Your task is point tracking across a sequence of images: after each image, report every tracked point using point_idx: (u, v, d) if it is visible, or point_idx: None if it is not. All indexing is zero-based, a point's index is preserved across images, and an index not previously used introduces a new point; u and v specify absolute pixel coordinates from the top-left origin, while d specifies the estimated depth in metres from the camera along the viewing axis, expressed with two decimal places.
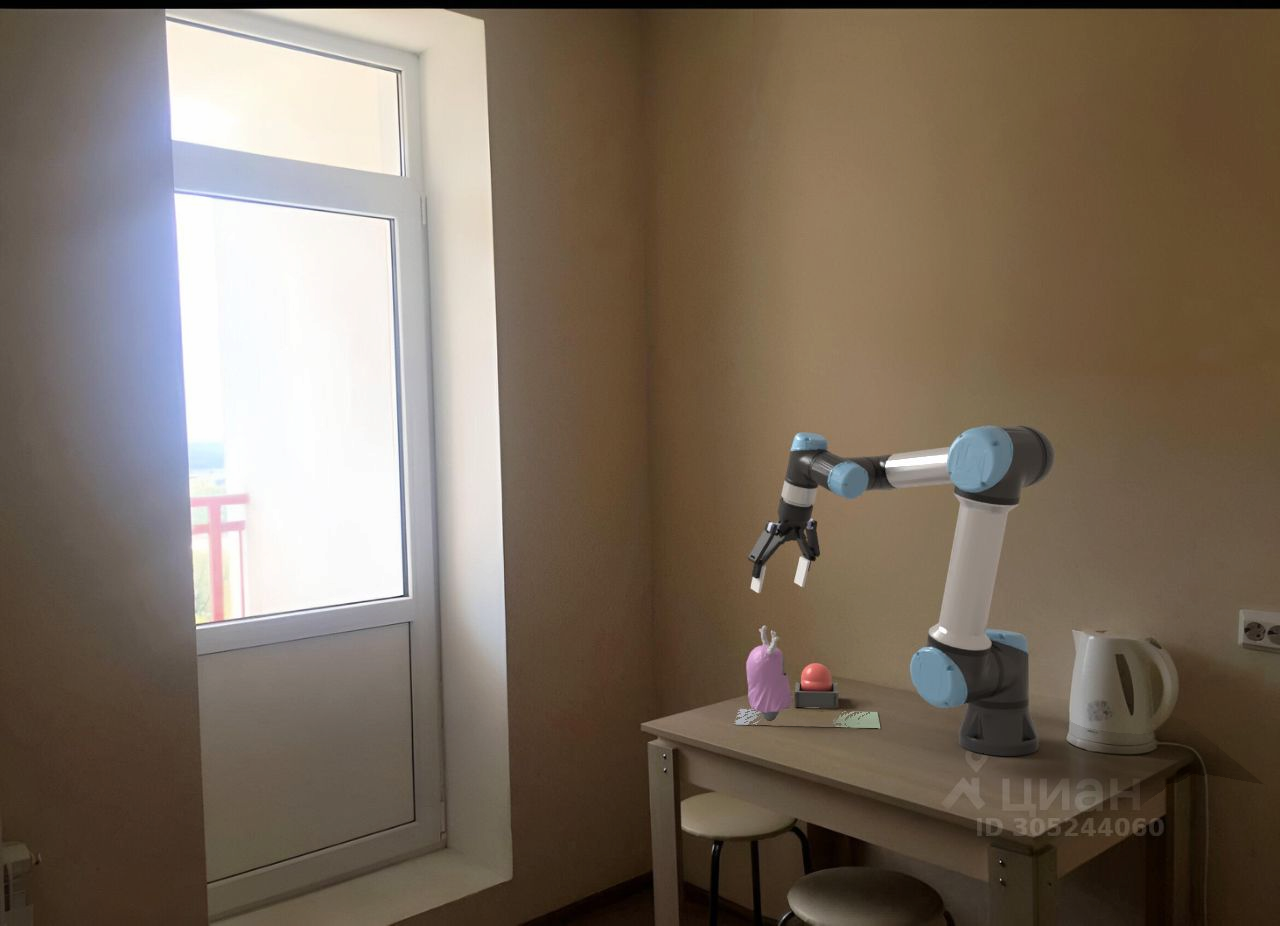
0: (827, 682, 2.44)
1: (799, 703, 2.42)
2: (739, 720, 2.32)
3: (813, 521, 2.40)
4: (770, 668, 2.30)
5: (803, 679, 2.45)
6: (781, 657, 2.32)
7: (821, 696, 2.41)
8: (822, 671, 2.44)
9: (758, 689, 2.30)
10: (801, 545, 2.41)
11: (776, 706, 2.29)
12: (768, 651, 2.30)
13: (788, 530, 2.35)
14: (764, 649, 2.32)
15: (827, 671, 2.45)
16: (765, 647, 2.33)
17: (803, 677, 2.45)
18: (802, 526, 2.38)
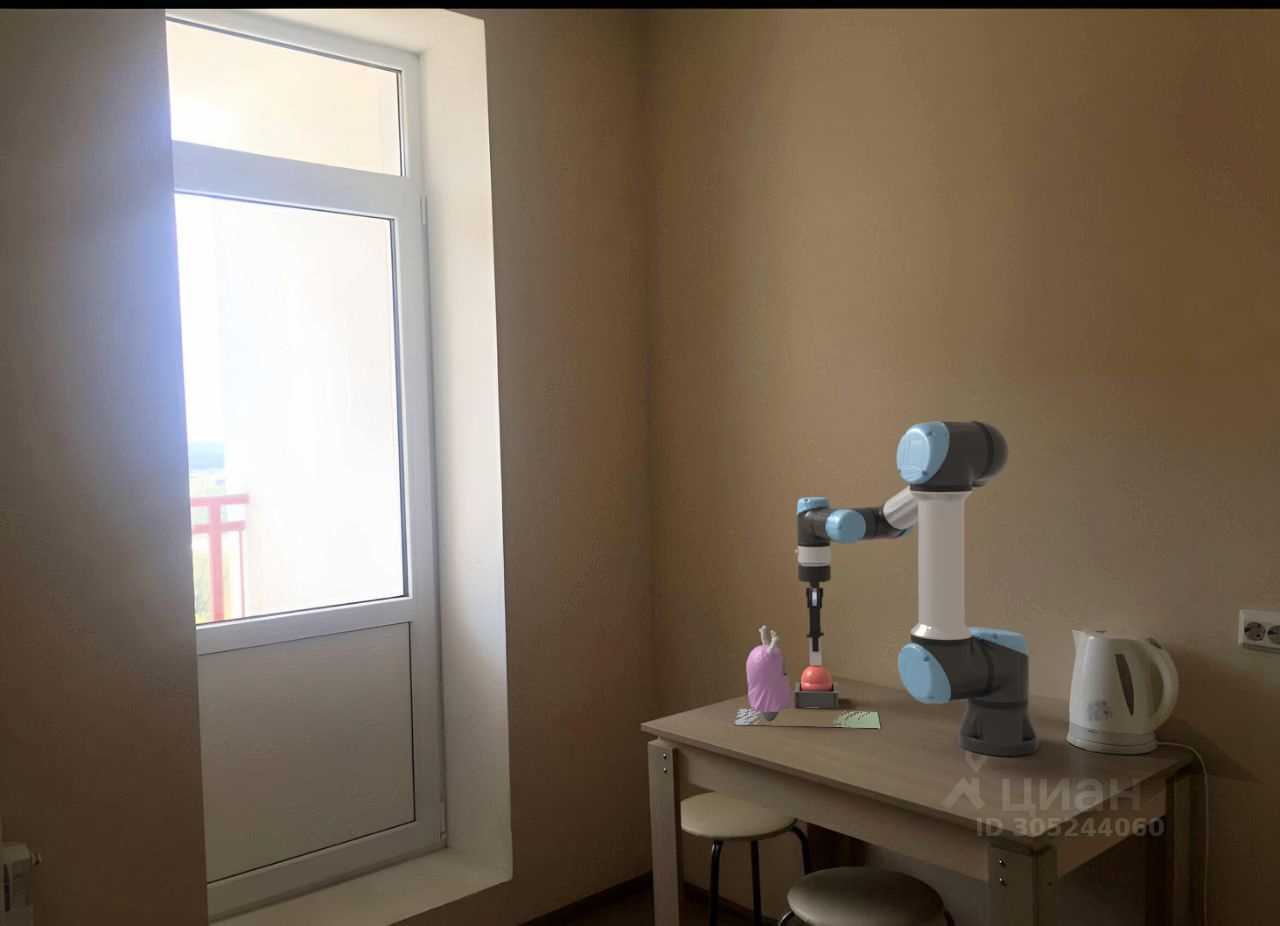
0: (827, 684, 2.44)
1: (799, 703, 2.42)
2: (739, 720, 2.32)
3: None
4: (770, 668, 2.30)
5: (803, 681, 2.45)
6: (781, 657, 2.32)
7: (821, 696, 2.41)
8: (822, 673, 2.44)
9: (758, 689, 2.30)
10: None
11: (776, 706, 2.29)
12: (768, 651, 2.30)
13: (820, 594, 2.44)
14: (764, 649, 2.32)
15: (827, 673, 2.45)
16: (765, 647, 2.33)
17: (803, 679, 2.45)
18: None
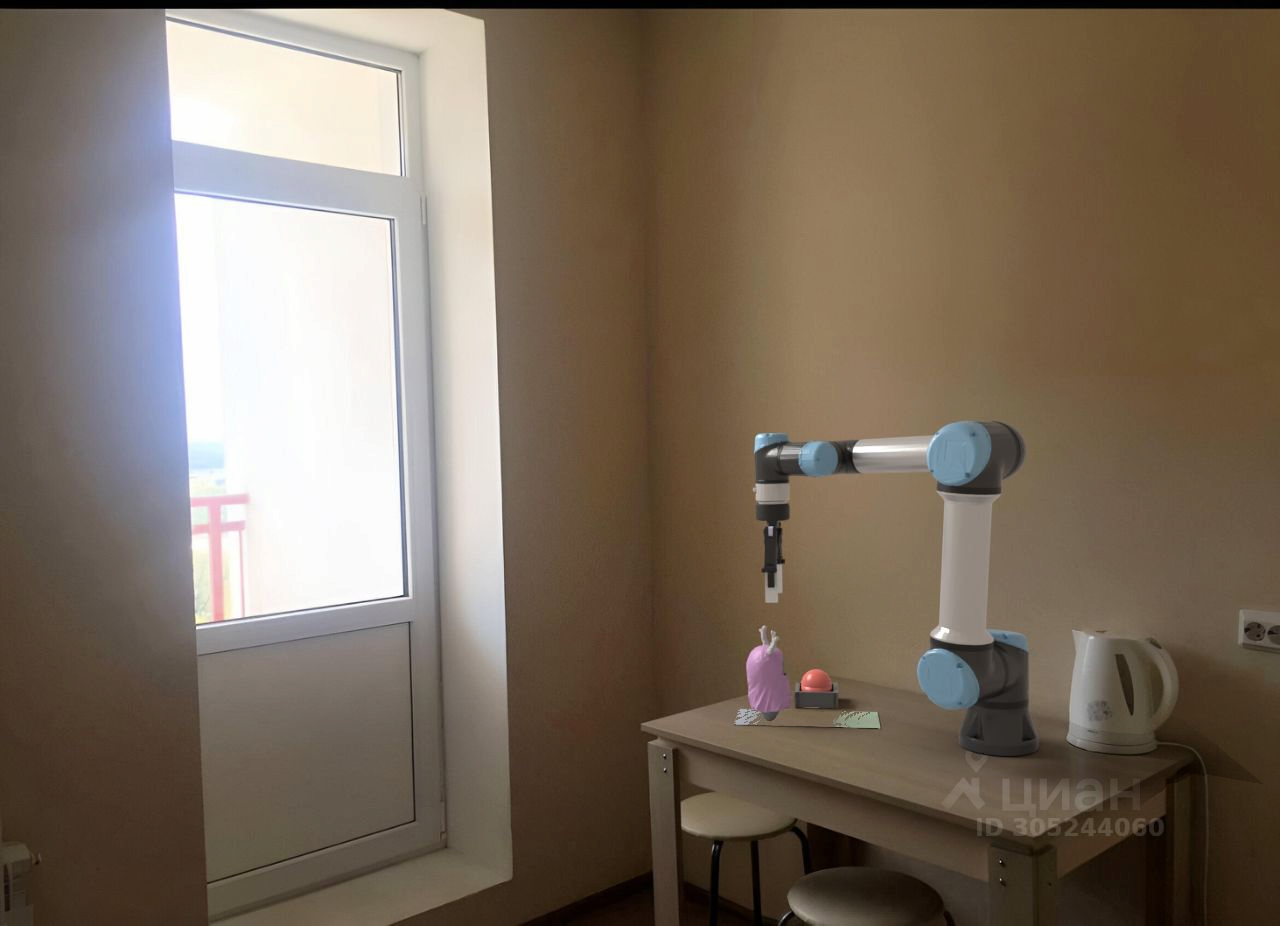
0: (828, 688, 2.44)
1: (799, 703, 2.42)
2: (739, 720, 2.32)
3: (778, 522, 2.40)
4: (770, 668, 2.30)
5: (803, 685, 2.45)
6: (781, 657, 2.32)
7: (821, 696, 2.41)
8: (822, 677, 2.44)
9: (758, 689, 2.30)
10: None
11: (776, 706, 2.29)
12: (768, 651, 2.30)
13: (778, 532, 2.33)
14: (764, 649, 2.32)
15: (827, 677, 2.45)
16: (765, 647, 2.33)
17: (803, 683, 2.45)
18: (778, 527, 2.37)
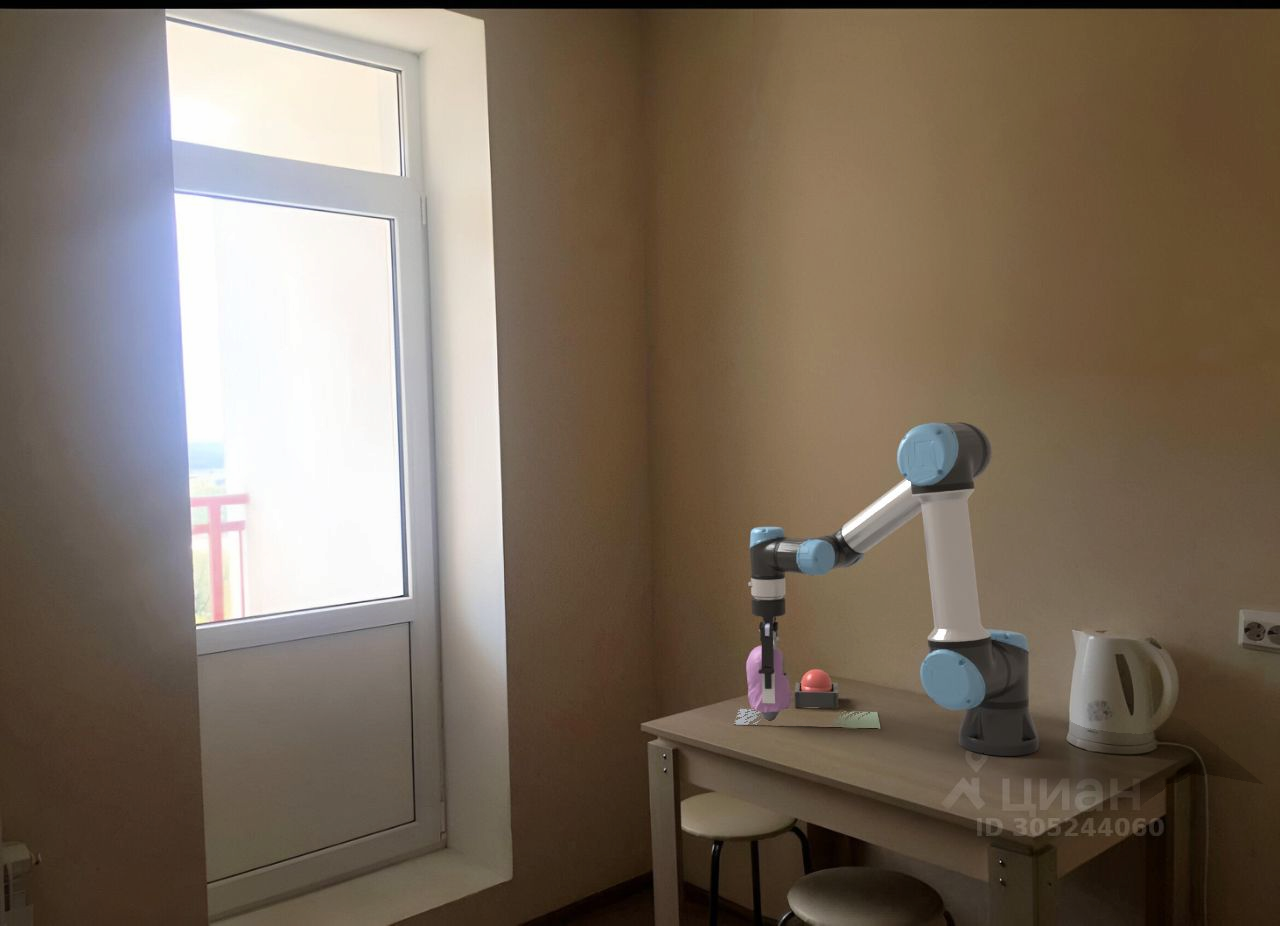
0: (828, 688, 2.44)
1: (799, 703, 2.42)
2: (739, 720, 2.32)
3: (773, 617, 2.39)
4: None
5: (803, 685, 2.45)
6: (781, 657, 2.32)
7: (821, 696, 2.41)
8: (822, 677, 2.44)
9: (758, 689, 2.30)
10: None
11: (776, 706, 2.29)
12: None
13: (774, 628, 2.32)
14: None
15: (827, 677, 2.45)
16: None
17: (803, 683, 2.45)
18: None
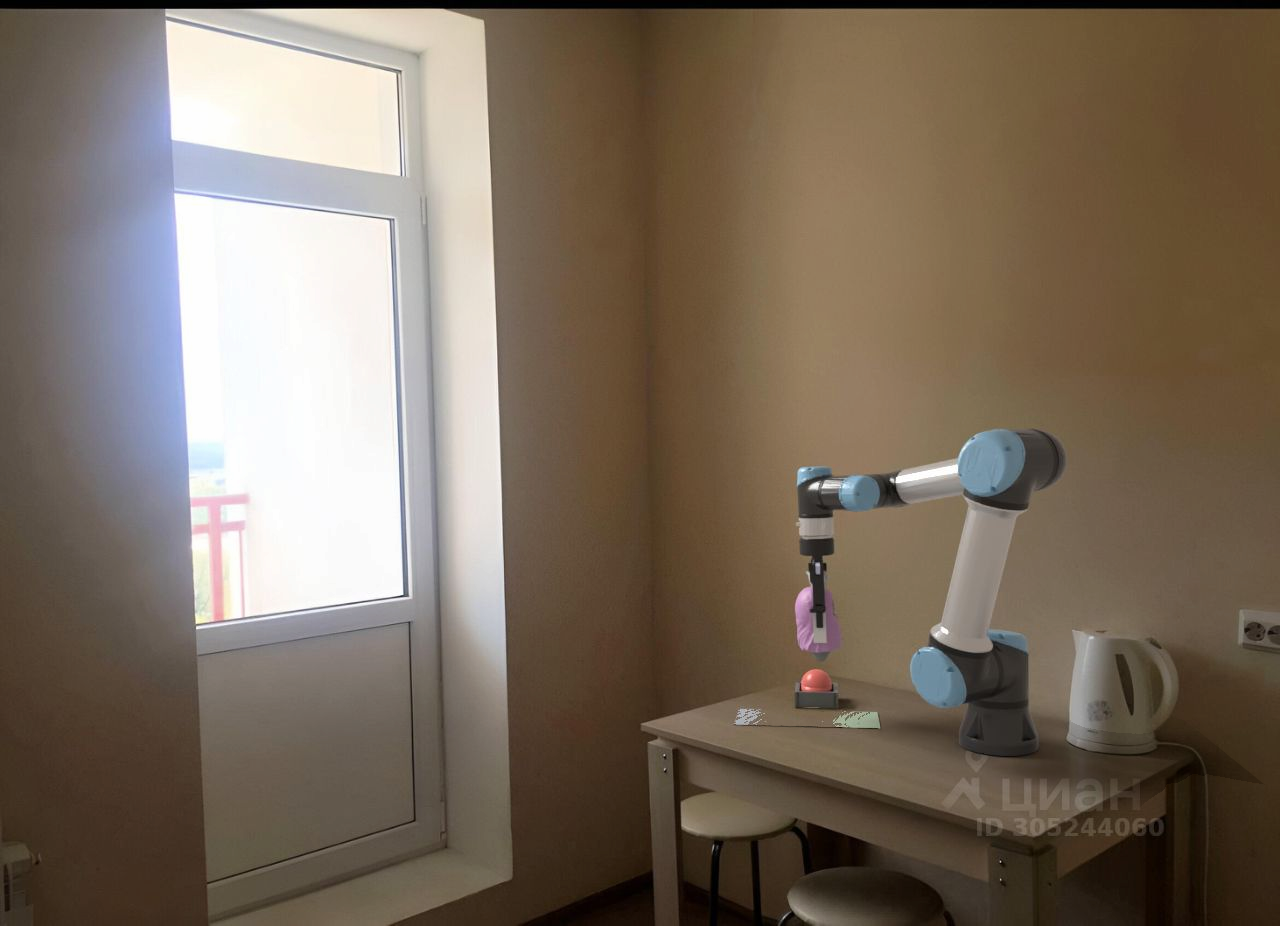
0: (828, 688, 2.44)
1: (799, 703, 2.42)
2: (739, 720, 2.32)
3: None
4: None
5: (803, 685, 2.45)
6: (831, 597, 2.29)
7: (821, 696, 2.41)
8: (822, 677, 2.44)
9: (809, 629, 2.27)
10: None
11: (828, 645, 2.26)
12: None
13: (823, 567, 2.29)
14: None
15: (827, 677, 2.45)
16: None
17: (803, 683, 2.45)
18: None
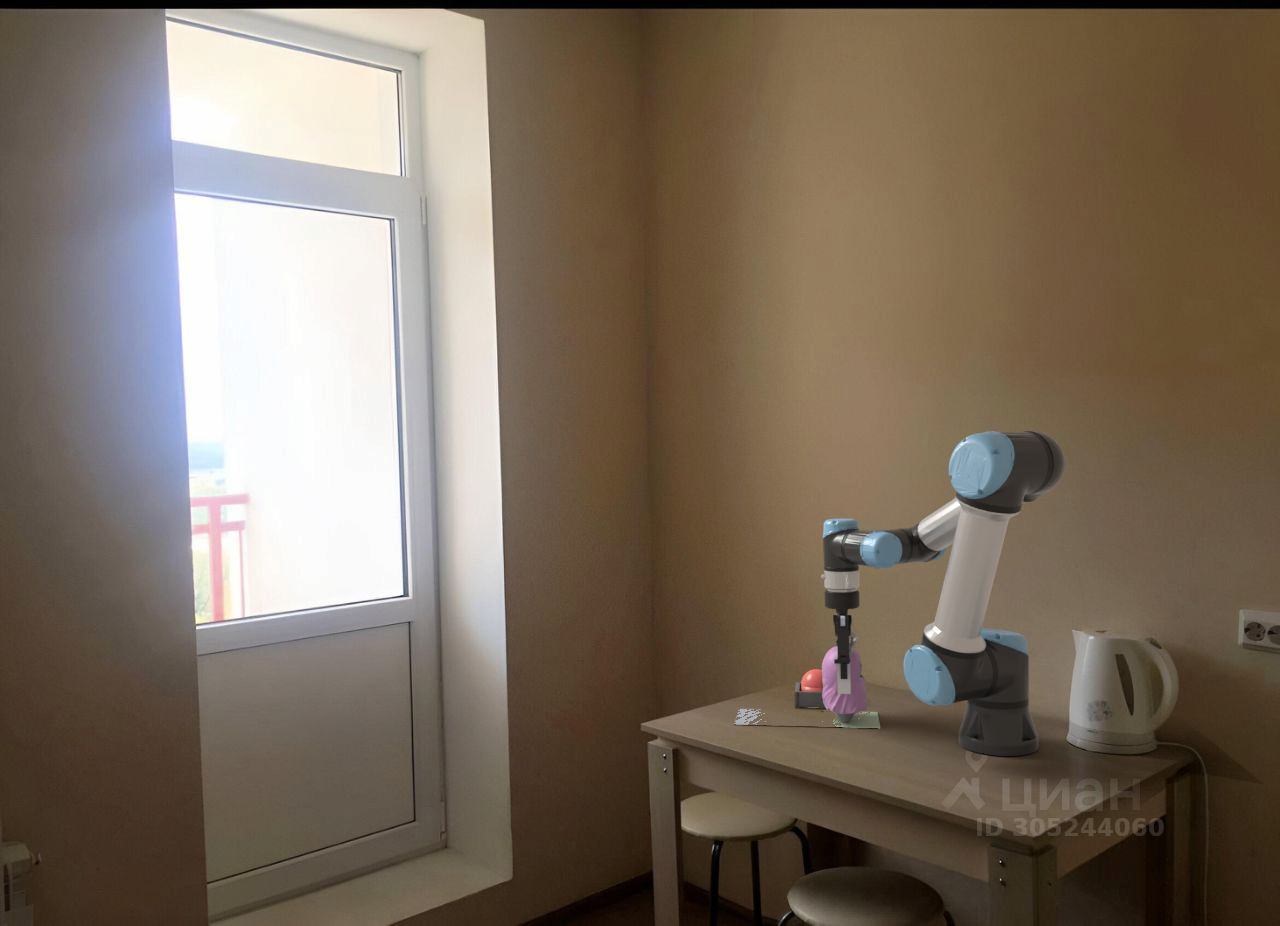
0: None
1: (799, 703, 2.42)
2: (739, 720, 2.32)
3: None
4: None
5: (803, 685, 2.45)
6: (859, 659, 2.29)
7: (821, 696, 2.41)
8: None
9: (835, 690, 2.27)
10: None
11: (853, 708, 2.26)
12: None
13: (848, 620, 2.29)
14: None
15: None
16: None
17: (803, 683, 2.45)
18: None
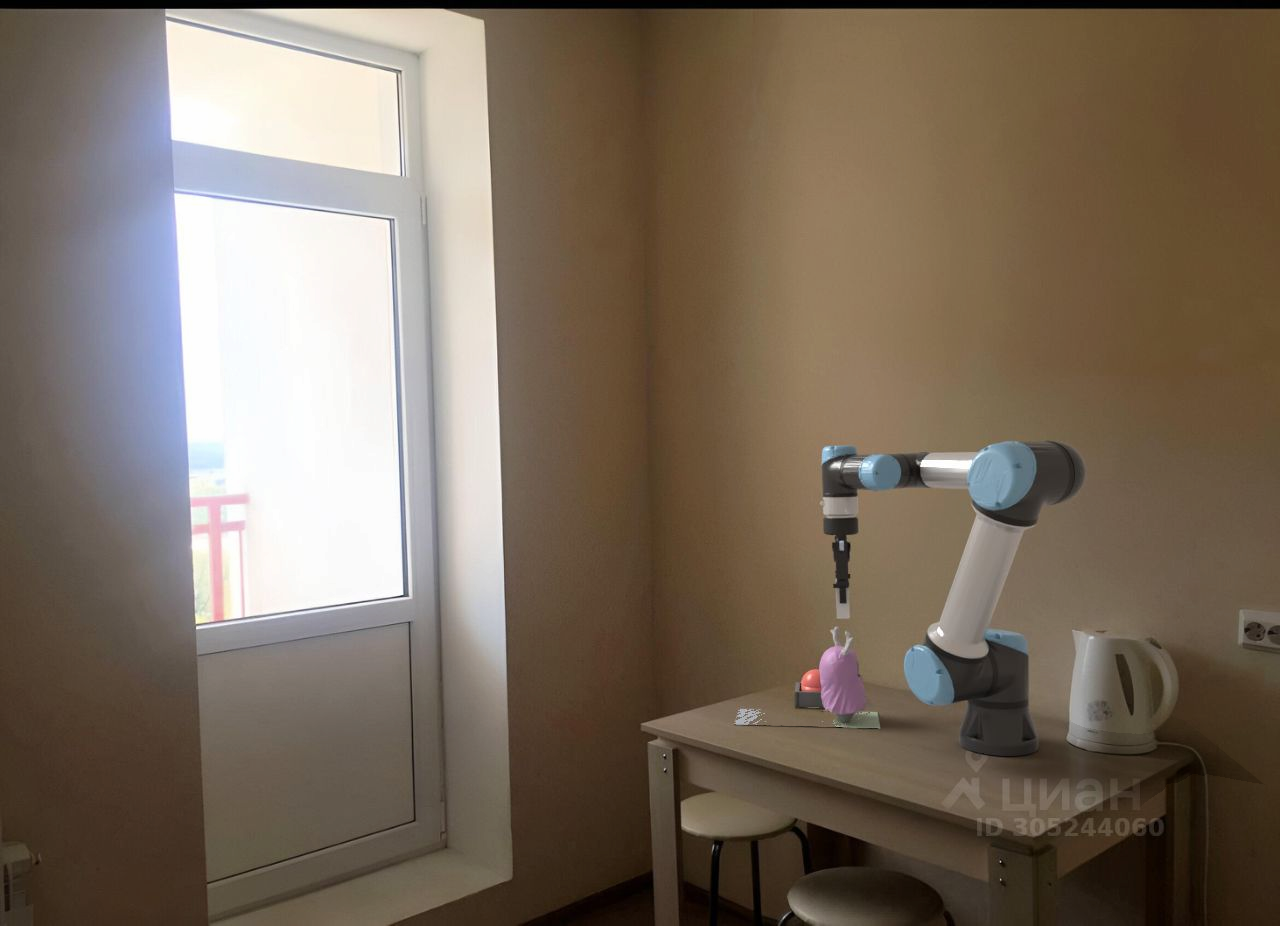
0: None
1: (799, 703, 2.42)
2: (739, 720, 2.32)
3: None
4: (845, 670, 2.27)
5: (803, 685, 2.45)
6: (855, 658, 2.29)
7: None
8: None
9: (833, 691, 2.27)
10: None
11: (852, 708, 2.26)
12: (843, 652, 2.27)
13: (847, 546, 2.28)
14: (838, 650, 2.29)
15: None
16: (839, 648, 2.30)
17: (803, 683, 2.45)
18: None
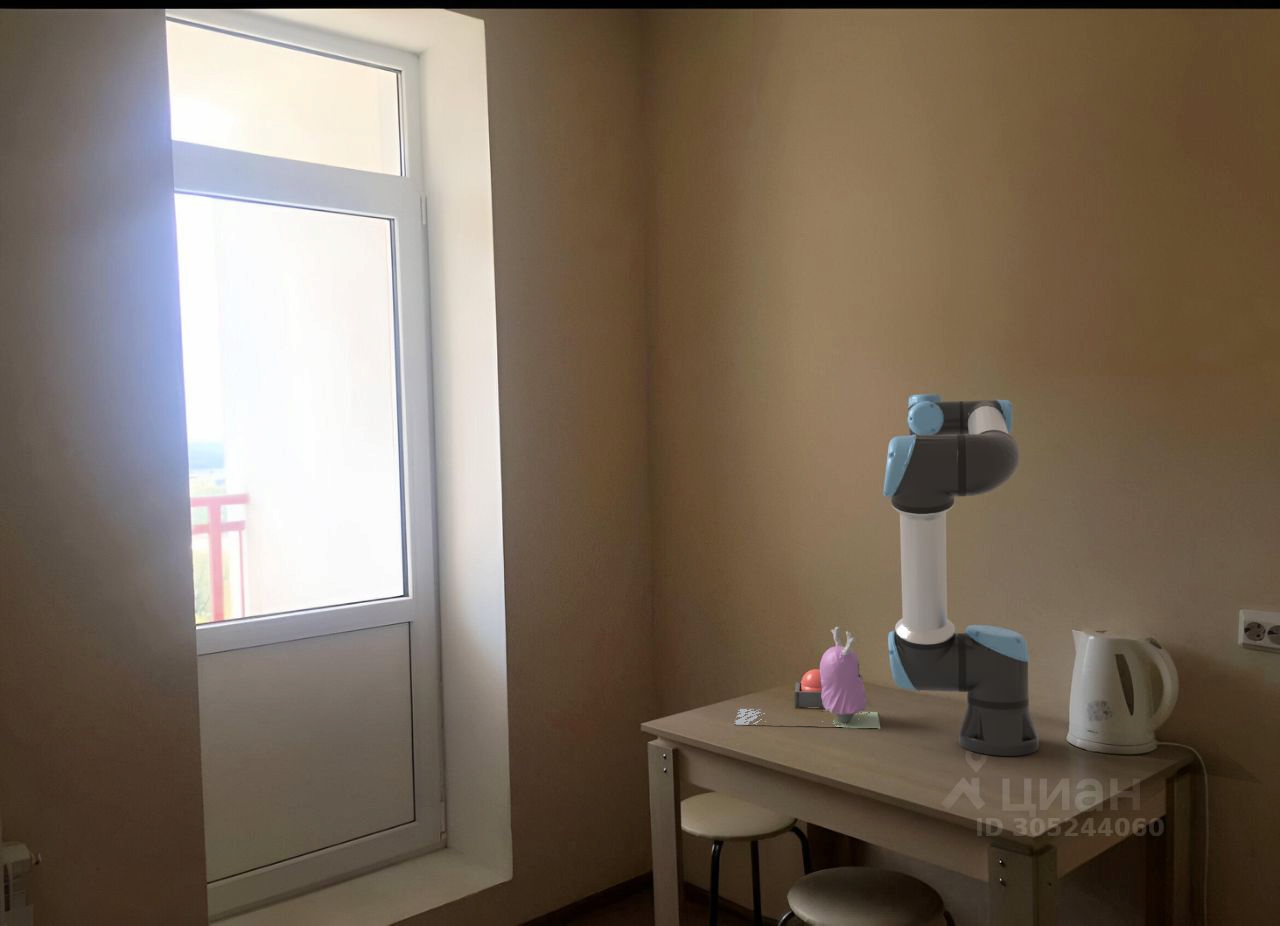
0: None
1: (799, 703, 2.42)
2: (739, 720, 2.32)
3: None
4: (845, 670, 2.27)
5: (803, 685, 2.45)
6: (856, 658, 2.29)
7: None
8: None
9: (833, 691, 2.27)
10: None
11: (852, 708, 2.26)
12: (843, 652, 2.27)
13: None
14: (839, 650, 2.29)
15: None
16: (839, 648, 2.30)
17: (803, 683, 2.45)
18: None
